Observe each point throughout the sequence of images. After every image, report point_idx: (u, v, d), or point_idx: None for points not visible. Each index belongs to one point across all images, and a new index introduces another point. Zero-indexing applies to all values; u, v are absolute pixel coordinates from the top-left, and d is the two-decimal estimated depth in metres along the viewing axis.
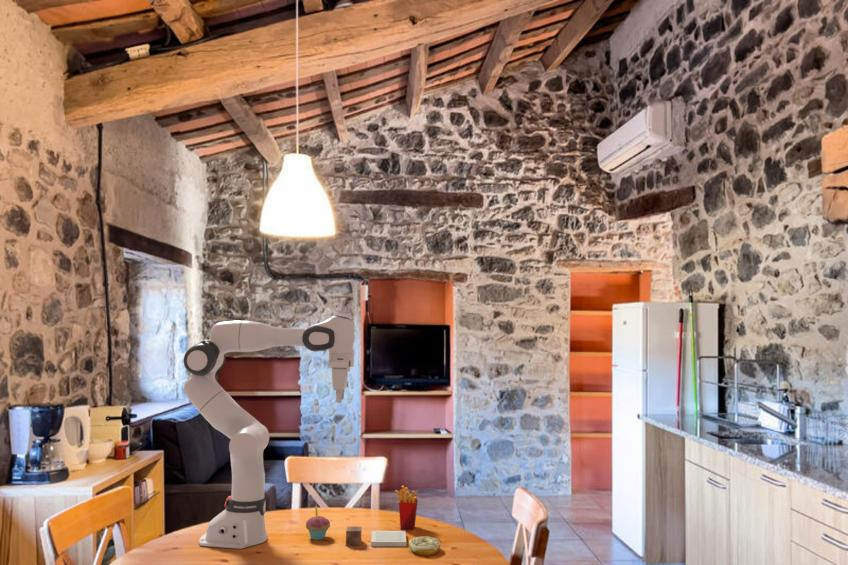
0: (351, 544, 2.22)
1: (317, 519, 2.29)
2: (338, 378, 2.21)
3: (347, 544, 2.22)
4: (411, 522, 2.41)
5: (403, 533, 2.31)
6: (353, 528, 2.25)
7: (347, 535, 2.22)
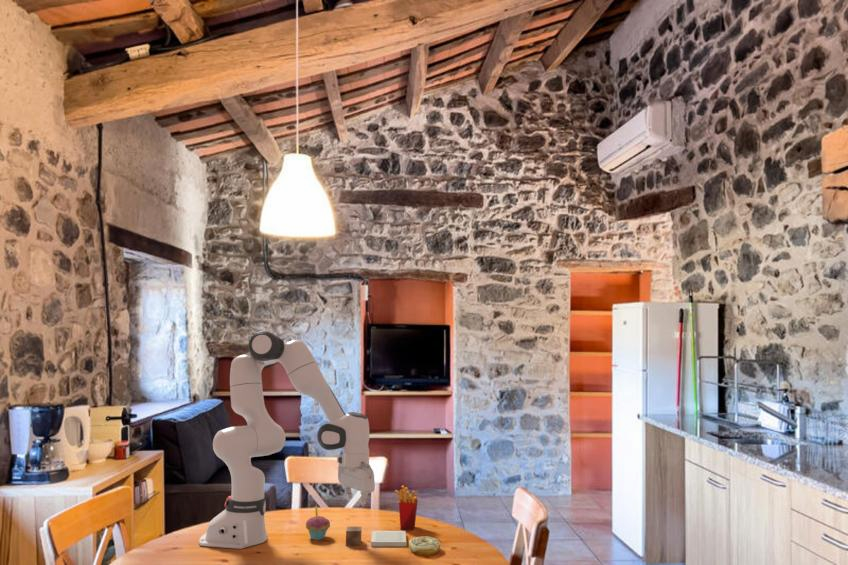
0: (351, 544, 2.22)
1: (317, 519, 2.29)
2: None
3: (347, 544, 2.22)
4: (411, 522, 2.41)
5: (403, 533, 2.31)
6: (353, 528, 2.25)
7: (347, 535, 2.22)
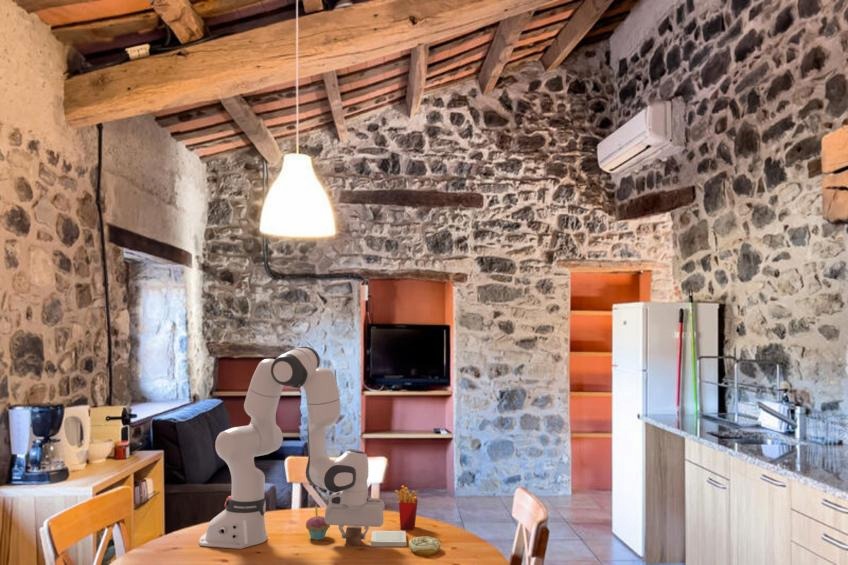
0: (351, 544, 2.22)
1: (317, 519, 2.29)
2: None
3: (347, 544, 2.22)
4: (411, 522, 2.41)
5: (403, 533, 2.31)
6: (353, 528, 2.25)
7: (347, 535, 2.22)
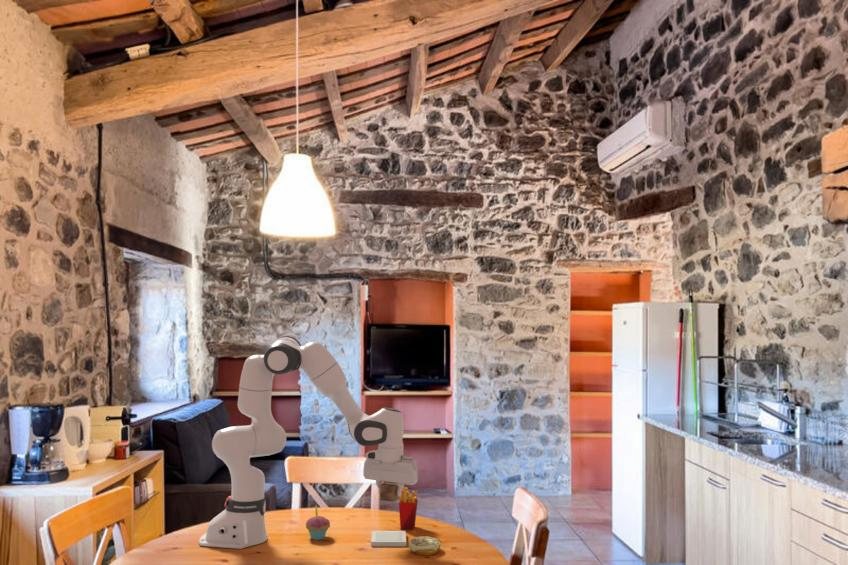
0: (385, 499, 2.27)
1: (317, 519, 2.29)
2: None
3: (381, 498, 2.27)
4: (411, 522, 2.41)
5: (403, 533, 2.31)
6: (389, 484, 2.30)
7: (381, 490, 2.28)
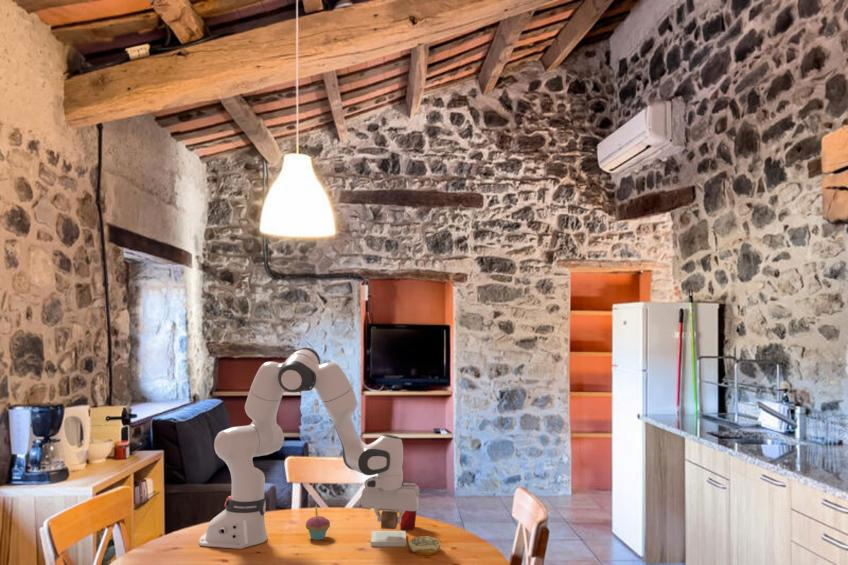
0: (386, 527, 2.26)
1: (317, 519, 2.29)
2: None
3: (382, 527, 2.26)
4: (411, 522, 2.41)
5: (403, 533, 2.31)
6: (389, 511, 2.29)
7: (382, 518, 2.26)
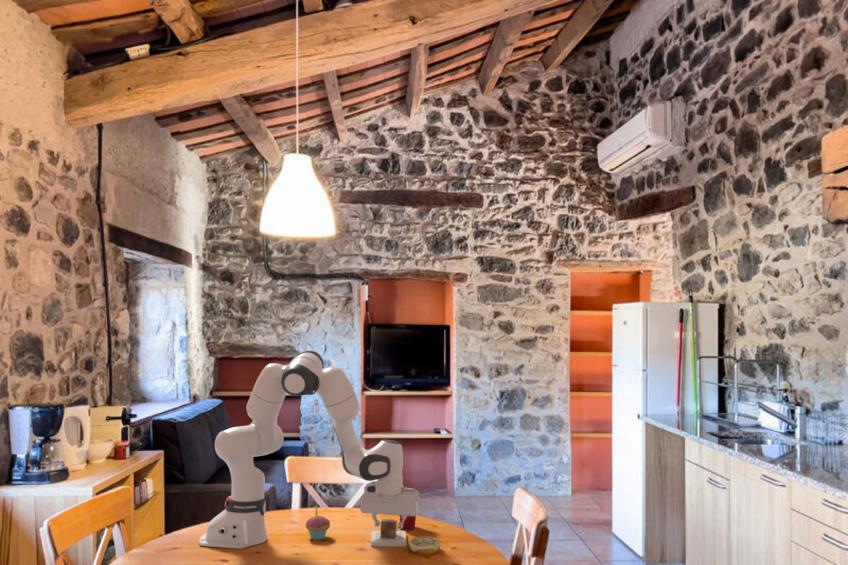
0: (386, 536, 2.26)
1: (317, 519, 2.29)
2: None
3: (382, 536, 2.26)
4: (411, 522, 2.41)
5: (403, 533, 2.31)
6: (388, 521, 2.29)
7: (382, 527, 2.26)
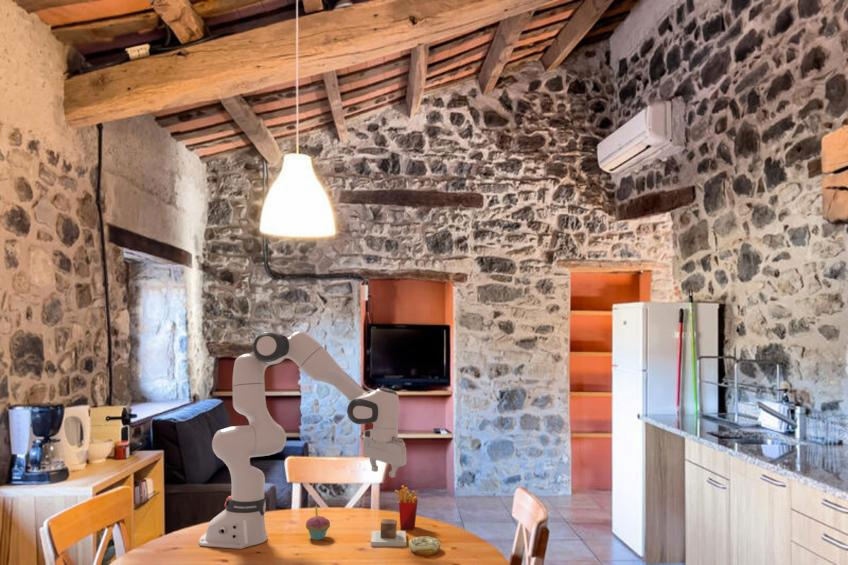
0: (386, 536, 2.26)
1: (317, 519, 2.29)
2: None
3: (382, 536, 2.26)
4: (411, 522, 2.41)
5: (403, 533, 2.31)
6: (388, 521, 2.29)
7: (382, 527, 2.26)
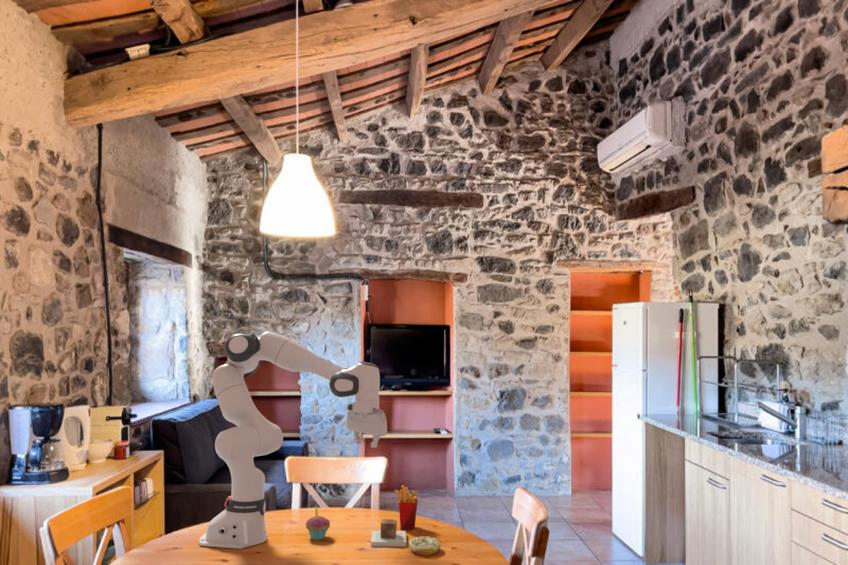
0: (386, 536, 2.26)
1: (317, 519, 2.29)
2: None
3: (382, 536, 2.26)
4: (411, 522, 2.41)
5: (403, 533, 2.31)
6: (388, 521, 2.29)
7: (382, 527, 2.26)
